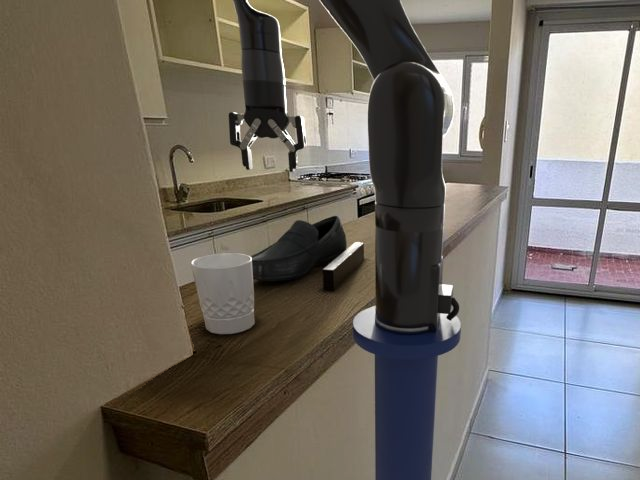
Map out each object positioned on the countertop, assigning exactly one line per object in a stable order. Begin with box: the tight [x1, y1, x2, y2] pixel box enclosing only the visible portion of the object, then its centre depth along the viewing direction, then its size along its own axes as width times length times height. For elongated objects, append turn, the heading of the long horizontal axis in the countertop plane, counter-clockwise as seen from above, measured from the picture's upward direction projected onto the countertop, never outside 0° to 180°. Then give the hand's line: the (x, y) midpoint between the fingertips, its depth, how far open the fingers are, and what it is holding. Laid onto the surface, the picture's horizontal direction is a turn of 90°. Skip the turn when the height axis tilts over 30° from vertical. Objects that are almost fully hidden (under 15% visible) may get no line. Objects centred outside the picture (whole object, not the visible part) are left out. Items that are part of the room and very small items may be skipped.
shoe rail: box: [322, 241, 365, 292], centre depth 91 cm, size 2×22×4 cm, turn 172°
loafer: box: [249, 215, 348, 282], centre depth 91 cm, size 10×29×10 cm, turn 162°
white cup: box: [190, 252, 256, 335], centre depth 64 cm, size 8×8×10 cm
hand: (271, 170), depth 90 cm, fingers open, 8 cm apart
